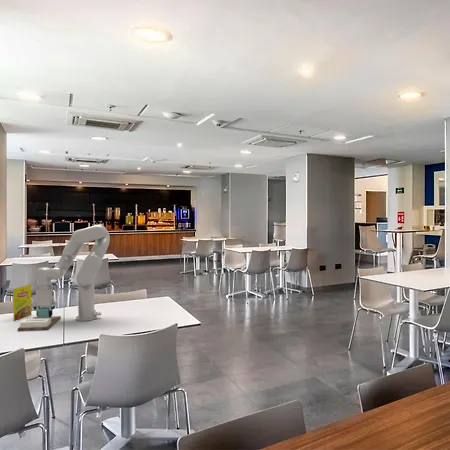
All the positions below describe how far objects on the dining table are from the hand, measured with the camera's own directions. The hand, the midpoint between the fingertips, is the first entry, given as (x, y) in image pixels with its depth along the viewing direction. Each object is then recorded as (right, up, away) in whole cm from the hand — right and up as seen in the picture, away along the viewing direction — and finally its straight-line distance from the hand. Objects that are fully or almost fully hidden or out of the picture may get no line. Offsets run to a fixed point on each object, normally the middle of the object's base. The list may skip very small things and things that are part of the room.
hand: (44, 316), depth 228 cm
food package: (-17, -3, +7) cm, 19 cm away
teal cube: (0, -1, 0) cm, 1 cm away
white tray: (+2, -2, -14) cm, 14 cm away
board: (+1, -3, -7) cm, 7 cm away
